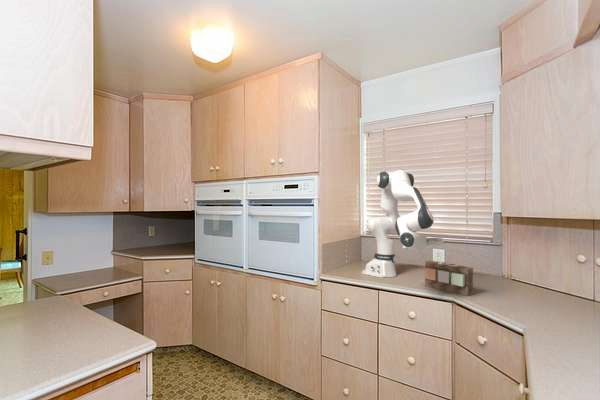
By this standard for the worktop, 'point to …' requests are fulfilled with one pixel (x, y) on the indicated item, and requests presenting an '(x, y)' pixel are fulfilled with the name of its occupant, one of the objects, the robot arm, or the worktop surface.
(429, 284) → the keypad console
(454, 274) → the key right
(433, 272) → the key left
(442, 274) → the key middle
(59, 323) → the worktop surface
